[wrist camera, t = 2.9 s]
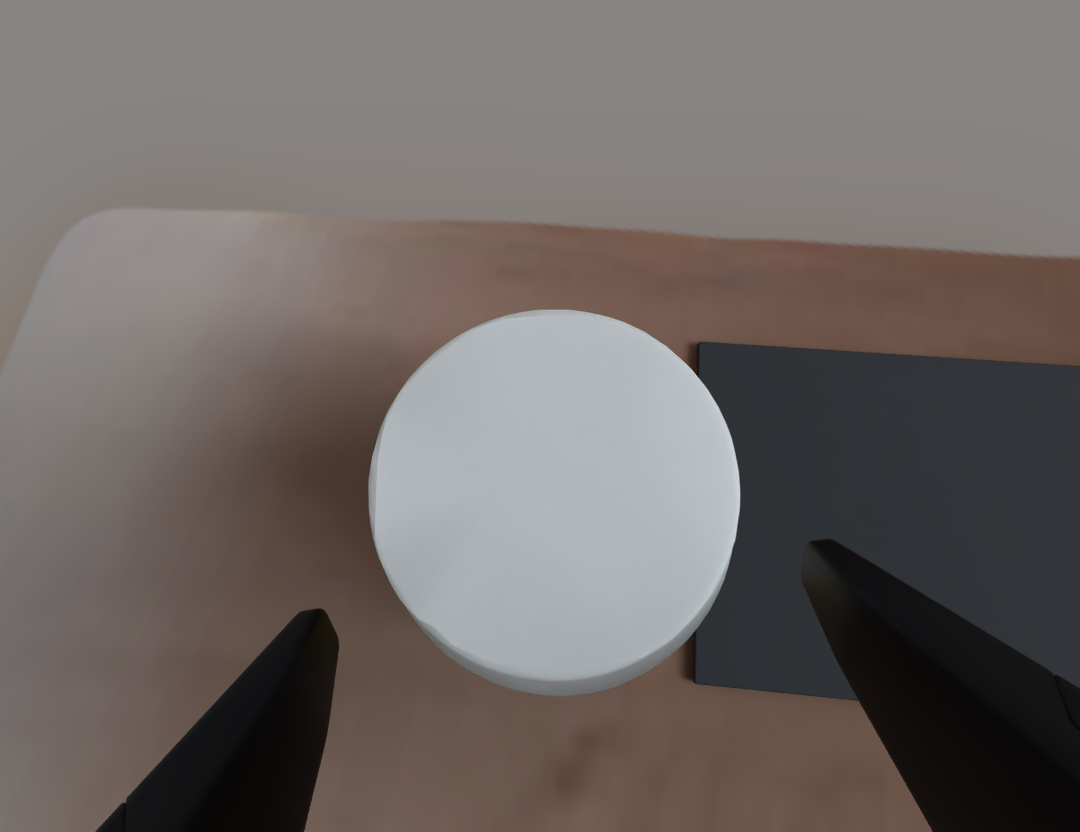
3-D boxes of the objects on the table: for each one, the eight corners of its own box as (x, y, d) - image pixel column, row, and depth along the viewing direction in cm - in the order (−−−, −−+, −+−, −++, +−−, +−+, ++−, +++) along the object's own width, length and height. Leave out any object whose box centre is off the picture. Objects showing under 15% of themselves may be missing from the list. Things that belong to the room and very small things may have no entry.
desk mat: (1252, 380, 19) (1262, 377, 19) (1349, 749, 16) (1363, 753, 16) (697, 344, 20) (699, 341, 20) (692, 682, 17) (694, 684, 17)
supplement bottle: (507, 411, 20) (420, 179, 8) (675, 471, 19) (884, 321, 7) (437, 583, 19) (188, 640, 6) (616, 657, 18) (746, 896, 5)
